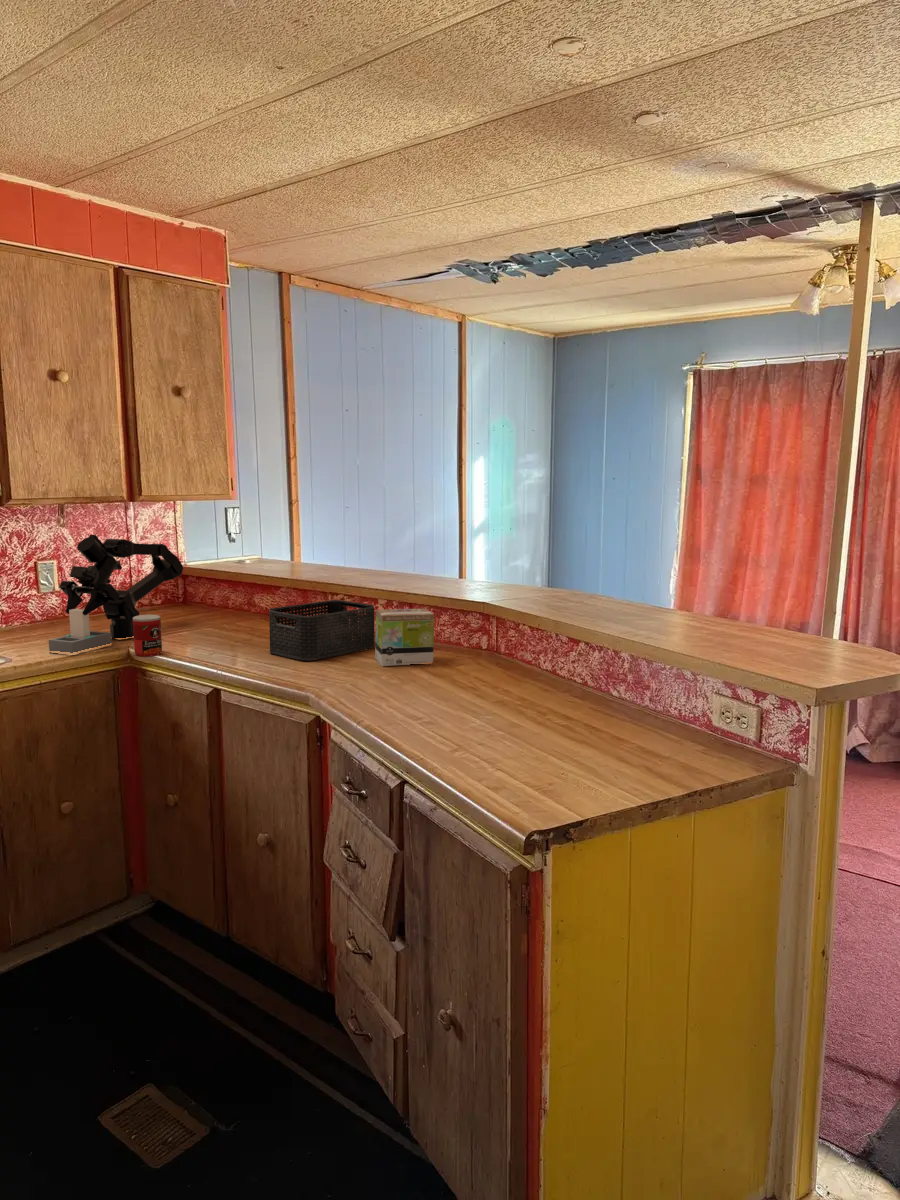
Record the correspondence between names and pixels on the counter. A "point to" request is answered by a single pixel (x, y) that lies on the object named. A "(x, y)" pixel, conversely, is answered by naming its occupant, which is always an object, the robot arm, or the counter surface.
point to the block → (79, 623)
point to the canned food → (147, 635)
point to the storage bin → (321, 630)
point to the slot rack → (79, 642)
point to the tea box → (404, 636)
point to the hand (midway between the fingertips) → (75, 613)
